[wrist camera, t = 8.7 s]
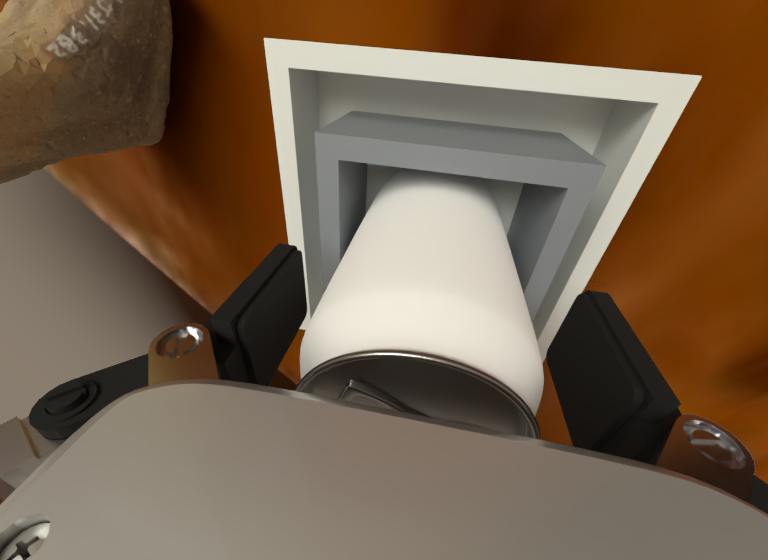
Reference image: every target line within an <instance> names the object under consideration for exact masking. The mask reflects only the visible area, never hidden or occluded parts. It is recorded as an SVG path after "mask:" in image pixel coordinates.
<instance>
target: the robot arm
mask: <svg viewBox="0 0 768 560" xmlns="http://www.w3.org/2000/svg"><path fill="white" fill-rule="evenodd" d="M306 314H307V299H306V289H305V278H304V268H303V257H302V252H301V251H300V250H298V249H297V247H296V246H294V245H288V244H281V243H280V244H278V245H277V246H276V247H275V248H274V249H273V250H272V251H271V252H270V254H269V255H268V256H267V257H266V258H265V259H264V260H263V261H262V262H261V263H260V265H259V266H258V267H257V268H256V269H255V270H254V271H253V272H252V273H251V274H250V276H249V277H247V278H246V279H245V280H244V281H243V282H242V284H241V285H240V286H239V287H238V288H237V289H236V290H235V291H234V292H233V293H232V294H231V296H230V297H229V298H228V299H227V300H226V301H225V302H224V303H223V304H222V305H221V306H220V308H219V309H218V310H217V311H216V312H215V313H214V314H213V315H212V316H211V317H210V319H209V320H208V321H207V322H206V323H205V324H204V325H199V324H195V323H187V324H181V325H177V326H174V327H171V328H169V329H167V330H165V331H164V332H162V333H160V334H159V335H158V336H157V337H156V338H154V340H153V341H152V343H151V345H150V347H149V352H148V354H146V355H143V356H140V357H137V358H134V359H132V360H129V361H126V362H123V363H120V364H117V365H114V366H111V367H108V368H105V369H102V370H99V371H96V372H94V373H91V374H88V375H85V376H82V377H79V378H76V379H74V380H70V381H68V382H66V383H63V384H61V385H59V386H57V387H56V388H54V389H52V390H51V391H49V392H48V393H47V394H46V395H44V396H43V397H42V398H41V399H39V400H38V402H37V403H36V404H35V405H34V407H33V408H32V410H31V412H30V414H29V416H28V417H26V418H24V419H22V420H20V419H19V418H18V417H17V416H16V417H14V418H13V419H11V420H9V421H7V422H5V423H3V424H1V425H0V560H768V484H766V483H765V482H763V481H762V480H760V479H759V478H758V477H756V476H755V475H754V474H755V463H754V460H753V458H752V456H751V454H750V452H749V451H748V450H747V449H746V447H745V446H744V445H743V444H742V443H741V442H740V441H739V440H738V439H737V438H736V437H735V436H734V435H733V434H731V433H730V432H729V431H727V430H726V429H724V428H723V427H721V426H720V425H718V424H716V423H714V422H712V421H711V420H709V419H706V418H703V417H700V416H697V415H690V414H686V415H682V414H681V412H680V411H679V409H678V408H677V407H678V406H679V405H680V404H681V403H680V402H679V400H678V399H677V397H676V396H675V394H674V393H673V391H672V390H671V388H670V387H669V385H668V384H667V382H666V380H665V379H664V377H663V376H662V374H661V373H660V371H659V370H658V368H657V367H656V365H655V364H654V362H653V361H652V359H651V358H650V356H649V355H648V353H647V351H646V350H645V348H644V347H643V345H642V344H641V342H640V341H639V339H638V338H637V336H636V335H635V333H634V332H633V330H632V329H631V327H630V326H629V324H628V322H627V321H626V319H625V318H624V316H623V315H622V313H621V312H620V310H619V309H618V307H617V306H616V304H615V303H614V301H613V300H612V298H611V297H610V295H609V294H607V293H602V292H596V291H589V290H588V291H585V292H584V293H583V294H579V295H578V296H577V297H576V299H575V300H574V302H573V304H572V306H571V308H570V310H569V311H568V313H567V315H566V317H565V319H564V320H563V322H562V324H561V326H560V328H559V330H558V331H557V333H556V335H555V337H554V339H553V341H552V342H551V344H550V346H549V348H548V350H547V354H546V359H547V363H548V366H549V369H550V372H551V376H552V379H553V382H554V385H555V389H556V392H557V395H558V398H559V401H560V405H561V408H562V411H563V414H564V418H565V421H566V424H567V427H568V430H569V434H570V437H571V440H572V443H573V446H574V447H573V446H568V445H563V444H559V443H554V442H549V441H544V440H539V439H534V438H529V437H524V436H519V435H515V434H510V433H505V432H500V431H495V430H490V429H485V428H480V427H475V426H470V425H465V424H460V423H455V422H450V421H445V420H440V419H435V418H430V417H425V416H420V415H415V414H410V413H405V412H400V411H395V410H390V409H385V408H380V407H375V406H369V405H364V404H359V403H354V402H349V401H344V400H338V399H333V398H328V397H323V396H318V395H313V394H307V393H302V392H297V391H291V390H285V389H279V388H274V387H268V384H269V382H270V381H271V379H272V377H273V375H274V373H275V372H276V370H277V368H278V366H279V364H280V363H281V361H282V359H283V357H284V355H285V354H286V352H287V350H288V348H289V346H290V344H291V343H292V341H293V339H294V337H295V335H296V334H297V332H298V330H299V328H300V326H301V325H302V323H303V321H304V319H305V317H306Z"/></svg>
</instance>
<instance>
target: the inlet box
mask: <svg viewBox="0 0 768 560" xmlns="http://www.w3.org/2000/svg"><path fill="white" fill-rule="evenodd" d="M264 44H265V53H266V61H267V69H268V77H269V86H270V94H271V102H272V110H273V119H274V127H275V135H276V143H277V152H278V160H279V168H280V176H281V185H282V193H283V201H284V209H285V218H286V226H287V234H288V242H289V245H294V246H296V247H297V249H298V250H300V251H301V252H302V257H303V268H304V278H305V289H306V299H307V314H306V317H305V319H304V321H303V323H302V325H301V326H300V328H299V329H304V330H306V329H307V326H308V324H309V322H310V320H311V318H312V316H313V314H314V312H315V310H316V308H317V306H318V304H319V302H320V300H321V298H322V296H323V294H324V292H325V290H326V288H327V287H328V285H329V283H330V281H331V279H332V277H333V275H334V273H335V271H336V269H337V268H338V266H339V264H340V262H341V260H342V258H343V256H344V254H345V252H346V251H347V249H348V247H349V245H350V243H351V241H352V239H353V237H354V236H355V234H356V232H357V230H358V228H359V226H360V224H361V223H362V221H363V219H364V217H365V215H366V213H367V211H368V210H369V208H370V206H371V204H372V202H373V201H374V199H375V197H376V195H377V193H378V192H379V190H380V189H381V187H382V186H383V185H384V183H385V182H386V181H387V180H388V179H389V178H390V177H391V176H392V175H393V174H394V173H396V172H397V171H399V170H400V169H402V168H408V169H417V170H425V171H433V172H441V173H449V174H457V175H465V176H473V177H480V178H481V179H482V180H483V181H484V182H485V183H486V184H487V186H488V187H489V189H490V191H491V193H492V195H493V197H494V199H495V202H496V205H497V208H498V211H499V214H500V217H501V221H502V224H503V227H504V230H505V234H506V237H507V240H508V244H509V247H510V250H511V253H512V257H513V260H514V264H515V267H516V270H517V274H518V277H519V280H520V284H521V287H522V291H523V294H524V297H525V301H526V304H527V308H528V311H529V314H530V318H531V322H532V325H533V329H534V332H535V336H536V339H537V343H538V347H539V351H540V355H541V359H542V363H543V362H544V360H545V358H546V354H547V350H548V348H549V346H550V344H551V342H552V341H553V339H554V337H555V335H556V333H557V331H558V330H559V328H560V326H561V324H562V322H563V320H564V319H565V317H566V315H567V313H568V311H569V310H570V308H571V306H572V304H573V302H574V300H575V299H576V297H577V296H578V295H579V294H581V293H582V291H583V290H584V288H585V286H586V284H587V282H588V281H589V279H590V277H591V275H592V273H593V272H594V270H595V268H596V266H597V264H598V263H599V261H600V259H601V257H602V255H603V254H604V252H605V250H606V248H607V246H608V245H609V243H610V241H611V239H612V237H613V236H614V234H615V232H616V230H617V228H618V227H619V225H620V223H621V221H622V219H623V218H624V216H625V214H626V212H627V210H628V209H629V207H630V205H631V203H632V201H633V200H634V198H635V196H636V194H637V193H638V191H639V189H640V187H641V185H642V184H643V182H644V180H645V178H646V176H647V175H648V173H649V171H650V169H651V167H652V166H653V164H654V162H655V160H656V158H657V157H658V155H659V153H660V151H661V149H662V148H663V146H664V144H665V142H666V140H667V139H668V137H669V135H670V133H671V131H672V130H673V128H674V126H675V124H676V122H677V121H678V119H679V117H680V115H681V113H682V112H683V110H684V108H685V106H686V104H687V103H688V101H689V99H690V97H691V95H692V94H693V92H694V90H695V88H696V86H697V85H698V83H699V81H700V79H701V77H702V76H697V75H685V74H674V73H663V72H651V71H640V70H629V69H617V68H606V67H594V66H583V65H571V64H560V63H548V62H537V61H525V60H514V59H502V58H491V57H479V56H468V55H456V54H445V53H433V52H422V51H410V50H399V49H387V48H376V47H365V46H353V45H342V44H330V43H319V42H307V41H295V40H284V39H272V38H264Z"/></svg>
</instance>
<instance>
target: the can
mask: <svg viewBox="0 0 768 560" xmlns="http://www.w3.org/2000/svg"><path fill="white" fill-rule="evenodd" d="M300 372H301V380H300V382H299V383H298V385H297V387H296V389H295V391H297V392H302V393H307V394H313V395H318V396H323V397H328V398H333V399H338V400H344V401H349V402H354V403H359V404H364V405H369V406H375V407H380V408H385V409H390V410H395V411H400V412H405V413H410V414H415V415H420V416H425V417H430V418H435V419H440V420H445V421H450V422H455V423H460V424H465V425H470V426H475V427H480V428H485V429H490V430H495V431H500V432H505V433H510V434H515V435H519V436H524V437H529V438H534V439H539V440H541V436H540V430H539V426H538V423H537V420H536V418H535V416H536V413H537V410H538V407H539V404H540V400H541V397H542V392H543V386H544V373H543V365H542V359H541V355H540V351H539V347H538V343H537V339H536V336H535V332H534V329H533V325H532V322H531V318H530V314H529V311H528V308H527V304H526V301H525V297H524V294H523V291H522V287H521V284H520V280H519V277H518V274H517V270H516V267H515V264H514V260H513V257H512V253H511V250H510V247H509V244H508V240H507V237H506V234H505V230H504V227H503V224H502V221H501V217H500V214H499V211H498V208H497V205H496V202H495V199H494V197H493V195H492V193H491V191H490V189H489V187H488V186H487V184H486V183H485V182H484V181H483V180H482V179H481V178H480V177H473V176H465V175H457V174H449V173H441V172H433V171H425V170H417V169H408V168H402V169H400V170H399V171H397V172H396V173H394V174H393V175H392V176H391V177H390V178H389V179H388V180H387V181H386V182H385V183H384V185H383V186H382V187H381V189H380V190H379V192H378V193H377V195H376V197H375V199H374V201H373V202H372V204H371V206H370V208H369V210H368V211H367V213H366V215H365V217H364V219H363V221H362V223H361V224H360V226H359V228H358V230H357V232H356V234H355V236H354V237H353V239H352V241H351V243H350V245H349V247H348V249H347V251H346V252H345V254H344V256H343V258H342V260H341V262H340V264H339V266H338V268H337V269H336V271H335V273H334V275H333V277H332V279H331V281H330V283H329V285H328V287H327V288H326V290H325V292H324V294H323V296H322V298H321V300H320V302H319V304H318V306H317V308H316V310H315V312H314V314H313V316H312V318H311V320H310V322H309V324H308V326H307V329H306V331H305V334H304V337H303V340H302V344H301V350H300Z"/></svg>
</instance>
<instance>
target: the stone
mask: <svg viewBox="0 0 768 560" xmlns="http://www.w3.org/2000/svg"><path fill="white" fill-rule="evenodd" d="M172 46H173V32H172V17H171V8H170V3H169V0H9V1H8V2H7V3H6V4H5V7H4V9H3V11H2V12H1V13H0V184H1V183H5V182H8V181H11V180H13V179H17V178H20V177H23V176H25V175H28V174H30V173H31V172H32V171H36V170H40V169H42V168H43V167H45V166H46V165H49V164H54V163H57V162H60V161H63V160H65V159H68V158H70V157H75V156H81V155H86V154H97V153H107V152H109V151H118V150H123V149H129V148H132V147H136V146H139V145H140V146H142V147H143V146H150V145H153V144H156V143H158V142H159V141H160V140H161V139H162V137H163V132H164V130H165V124H164V122H165V118H166V109H167V106H168V104H169V101H170V66H171V54H172Z"/></svg>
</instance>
